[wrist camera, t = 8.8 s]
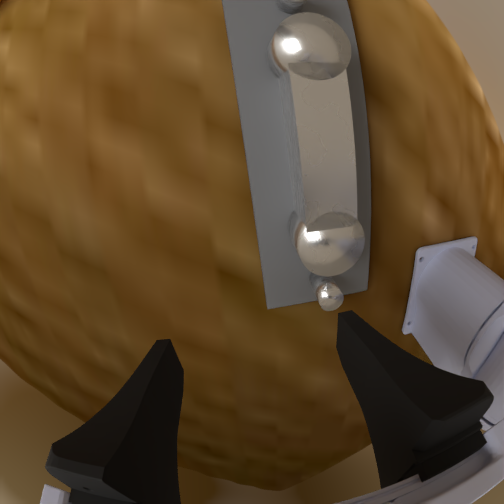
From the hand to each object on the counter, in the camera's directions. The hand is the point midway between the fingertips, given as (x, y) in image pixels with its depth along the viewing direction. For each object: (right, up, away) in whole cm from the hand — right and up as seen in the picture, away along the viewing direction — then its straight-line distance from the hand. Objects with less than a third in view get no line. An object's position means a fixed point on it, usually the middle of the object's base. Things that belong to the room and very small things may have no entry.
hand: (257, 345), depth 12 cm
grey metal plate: (+3, +11, +6) cm, 13 cm away
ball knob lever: (+3, +11, +5) cm, 12 cm away
